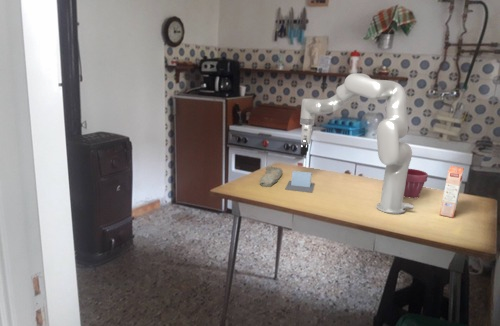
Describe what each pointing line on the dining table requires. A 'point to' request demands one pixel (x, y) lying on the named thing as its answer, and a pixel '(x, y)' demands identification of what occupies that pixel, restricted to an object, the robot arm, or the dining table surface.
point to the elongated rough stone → (271, 176)
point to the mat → (299, 188)
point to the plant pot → (414, 183)
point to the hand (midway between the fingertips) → (304, 153)
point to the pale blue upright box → (301, 178)
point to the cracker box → (451, 191)
